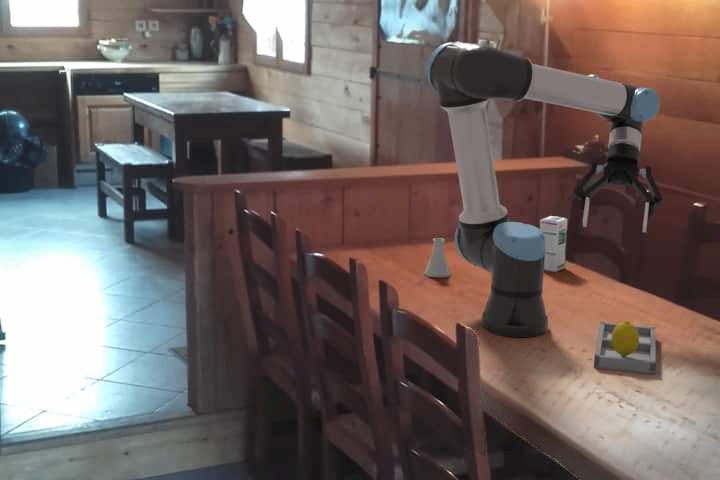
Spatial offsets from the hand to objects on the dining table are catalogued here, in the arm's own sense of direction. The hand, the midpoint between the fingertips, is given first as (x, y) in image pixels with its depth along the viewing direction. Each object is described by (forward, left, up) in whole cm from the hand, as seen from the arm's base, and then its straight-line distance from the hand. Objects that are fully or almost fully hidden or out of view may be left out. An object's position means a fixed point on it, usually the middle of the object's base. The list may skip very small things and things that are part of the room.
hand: (614, 227), depth 227 cm
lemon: (-20, -21, -22) cm, 36 cm away
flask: (-9, +51, -23) cm, 56 cm away
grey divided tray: (-15, -18, -22) cm, 32 cm away
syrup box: (+22, +38, -22) cm, 49 cm away
